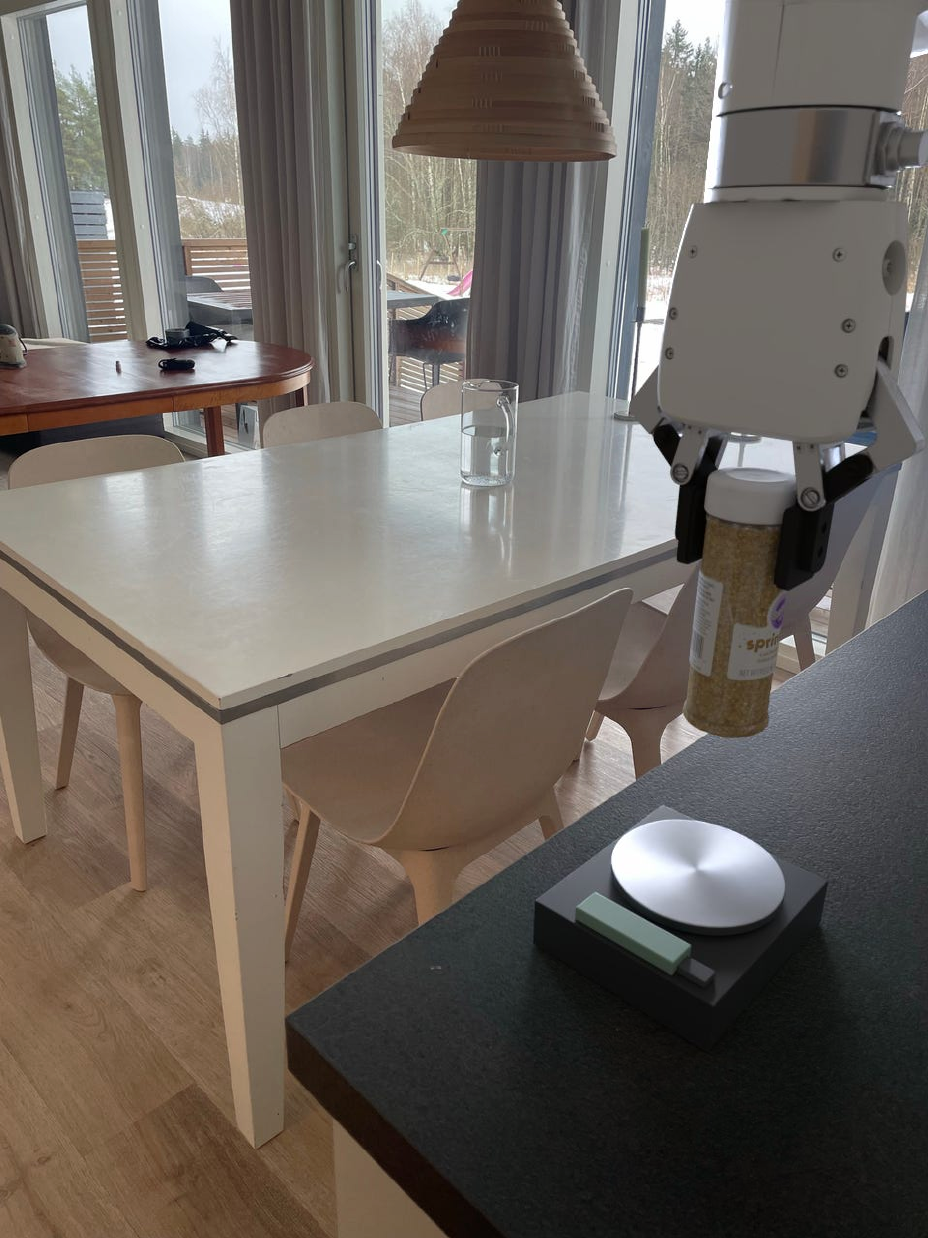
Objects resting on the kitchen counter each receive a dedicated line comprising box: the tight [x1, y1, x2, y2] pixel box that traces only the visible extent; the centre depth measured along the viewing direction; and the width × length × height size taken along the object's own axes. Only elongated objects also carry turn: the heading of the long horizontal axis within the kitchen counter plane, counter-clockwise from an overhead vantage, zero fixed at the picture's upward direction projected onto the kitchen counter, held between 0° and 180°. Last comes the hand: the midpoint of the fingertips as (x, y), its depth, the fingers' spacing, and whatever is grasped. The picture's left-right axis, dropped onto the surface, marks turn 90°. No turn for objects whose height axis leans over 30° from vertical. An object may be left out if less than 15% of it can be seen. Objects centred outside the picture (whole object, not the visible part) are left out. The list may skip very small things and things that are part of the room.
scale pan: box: [611, 820, 786, 936], centre depth 53 cm, size 10×10×1 cm
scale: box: [532, 804, 829, 1053], centre depth 52 cm, size 13×11×4 cm
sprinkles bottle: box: [682, 466, 797, 739], centre depth 47 cm, size 5×5×13 cm
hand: (744, 566), depth 47 cm, fingers closed on sprinkles bottle, 4 cm apart
